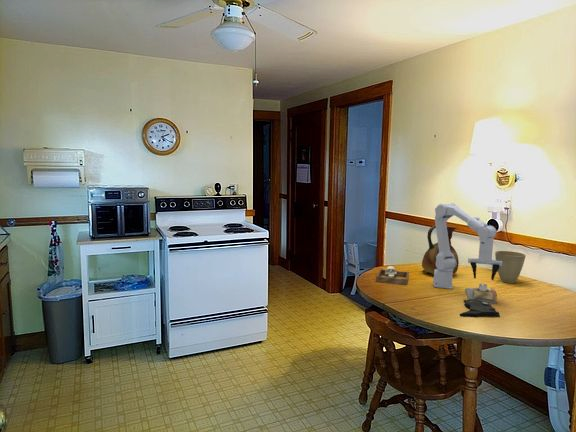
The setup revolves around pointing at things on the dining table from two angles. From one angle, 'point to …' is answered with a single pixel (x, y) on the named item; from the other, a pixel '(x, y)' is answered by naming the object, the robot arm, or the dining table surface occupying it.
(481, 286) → the peg
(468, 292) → the board
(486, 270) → the dining table surface
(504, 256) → the plant pot
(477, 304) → the stone slab
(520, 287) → the dining table surface
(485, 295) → the wooden square ring
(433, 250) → the ceramic pitcher
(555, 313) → the dining table surface
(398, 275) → the coaster frame
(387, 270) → the skull
